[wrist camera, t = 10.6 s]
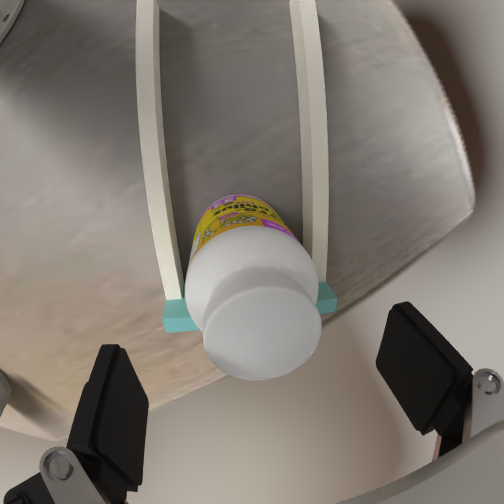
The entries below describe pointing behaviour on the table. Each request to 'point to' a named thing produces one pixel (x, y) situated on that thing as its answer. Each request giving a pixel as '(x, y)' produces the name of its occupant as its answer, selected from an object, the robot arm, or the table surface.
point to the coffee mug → (4, 392)
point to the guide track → (311, 155)
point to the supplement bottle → (252, 290)
